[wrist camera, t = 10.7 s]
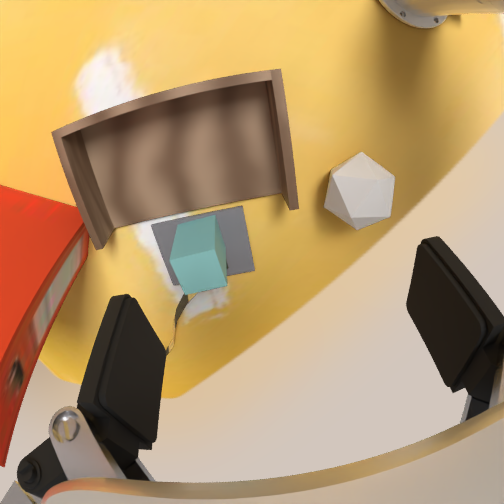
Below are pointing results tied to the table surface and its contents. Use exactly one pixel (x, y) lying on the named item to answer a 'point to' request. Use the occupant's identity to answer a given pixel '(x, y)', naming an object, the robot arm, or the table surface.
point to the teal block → (199, 255)
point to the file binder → (32, 288)
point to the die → (360, 191)
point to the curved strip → (179, 310)
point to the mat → (232, 235)
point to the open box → (180, 152)
